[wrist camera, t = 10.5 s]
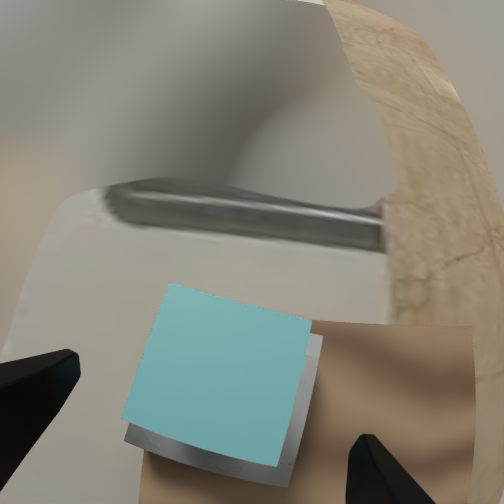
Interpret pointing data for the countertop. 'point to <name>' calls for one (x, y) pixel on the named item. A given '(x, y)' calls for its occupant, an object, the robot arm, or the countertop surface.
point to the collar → (235, 465)
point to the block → (219, 375)
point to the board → (360, 420)
